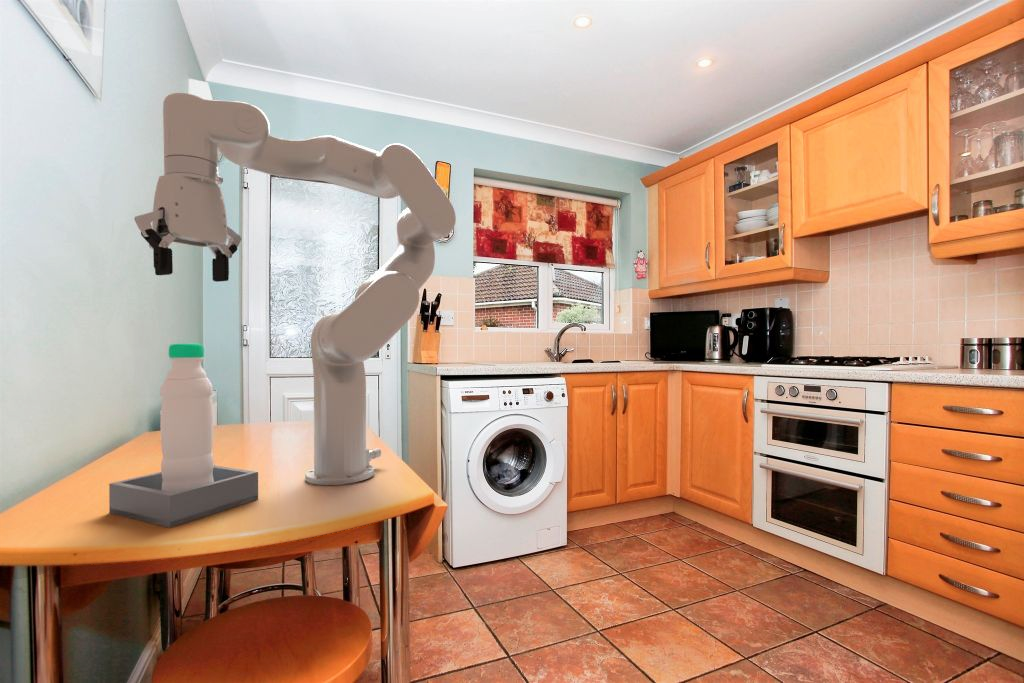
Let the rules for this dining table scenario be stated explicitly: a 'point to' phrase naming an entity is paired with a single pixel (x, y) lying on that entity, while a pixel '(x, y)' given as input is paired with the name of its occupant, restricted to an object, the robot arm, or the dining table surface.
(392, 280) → the robot arm
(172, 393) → the water bottle
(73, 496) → the dining table surface
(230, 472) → the tray
